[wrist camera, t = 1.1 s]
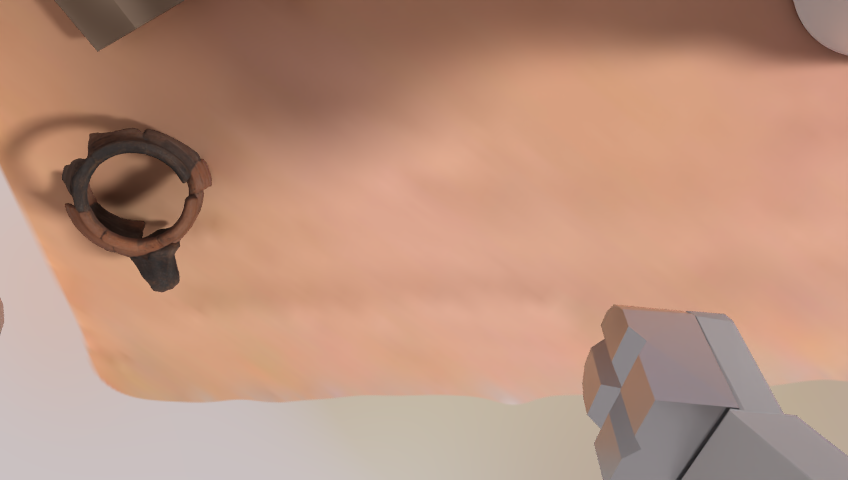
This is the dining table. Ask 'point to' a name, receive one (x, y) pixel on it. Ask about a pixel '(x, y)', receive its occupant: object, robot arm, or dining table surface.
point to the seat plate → (112, 17)
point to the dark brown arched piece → (124, 234)
